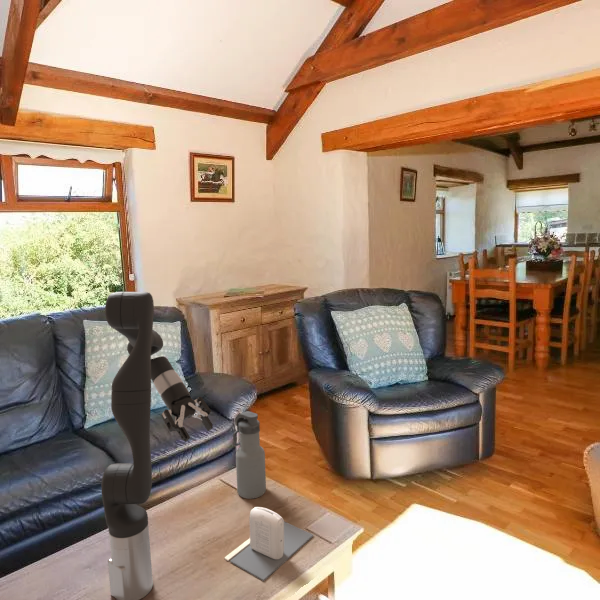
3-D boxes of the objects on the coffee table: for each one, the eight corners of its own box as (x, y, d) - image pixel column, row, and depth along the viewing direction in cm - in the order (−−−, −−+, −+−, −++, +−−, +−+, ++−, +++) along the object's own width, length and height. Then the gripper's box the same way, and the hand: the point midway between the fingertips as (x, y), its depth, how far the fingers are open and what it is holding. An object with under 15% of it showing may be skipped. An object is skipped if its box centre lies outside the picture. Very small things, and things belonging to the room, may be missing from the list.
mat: (263, 581, 122) (263, 579, 122) (224, 559, 131) (224, 557, 131) (313, 536, 140) (313, 534, 140) (275, 518, 148) (275, 517, 148)
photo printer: (287, 553, 132) (285, 512, 130) (277, 562, 128) (276, 520, 126) (257, 540, 137) (256, 500, 135) (248, 548, 134) (246, 508, 132)
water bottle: (230, 492, 163) (227, 414, 159) (251, 480, 171) (248, 405, 166) (251, 503, 157) (248, 422, 152) (271, 490, 164) (269, 412, 160)
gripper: (156, 388, 135) (185, 437, 130) (195, 375, 146) (223, 419, 141) (146, 402, 139) (174, 450, 134) (185, 389, 150) (212, 432, 145)
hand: (199, 434), depth 138 cm, fingers open, 8 cm apart
